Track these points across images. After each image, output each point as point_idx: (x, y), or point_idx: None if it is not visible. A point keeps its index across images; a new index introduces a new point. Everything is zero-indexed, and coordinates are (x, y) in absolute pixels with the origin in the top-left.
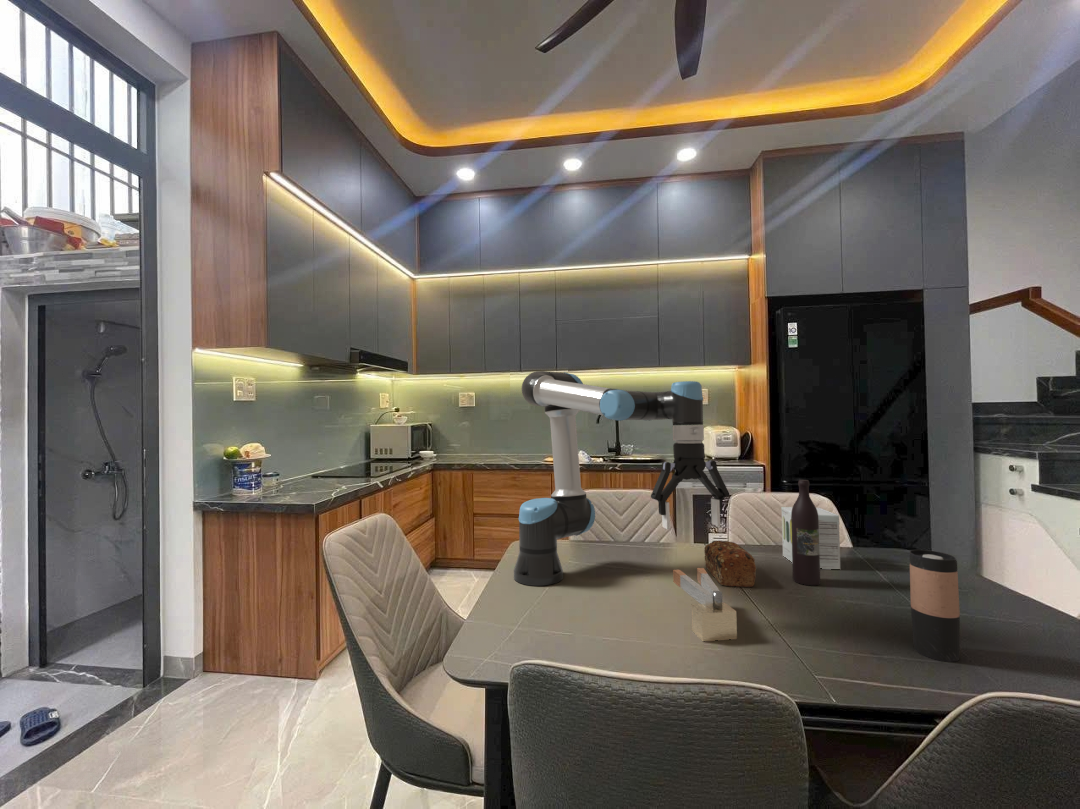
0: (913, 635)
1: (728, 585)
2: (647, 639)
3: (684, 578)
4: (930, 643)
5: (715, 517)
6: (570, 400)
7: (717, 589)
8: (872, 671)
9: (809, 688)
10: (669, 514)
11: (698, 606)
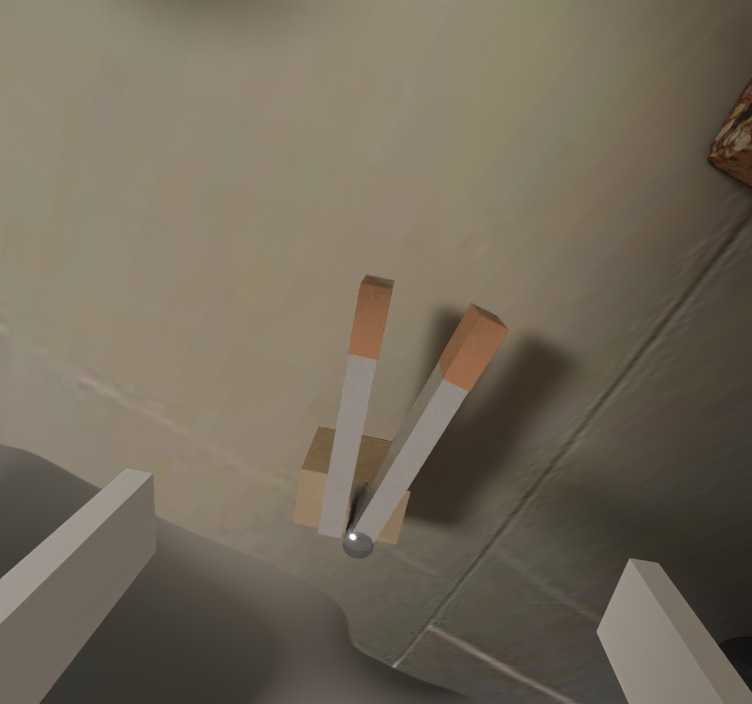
0: (743, 674)
1: (727, 171)
2: (188, 421)
3: (342, 392)
4: None
5: (647, 691)
6: None
7: (379, 526)
8: (542, 650)
9: (385, 640)
10: (53, 683)
11: (313, 485)
